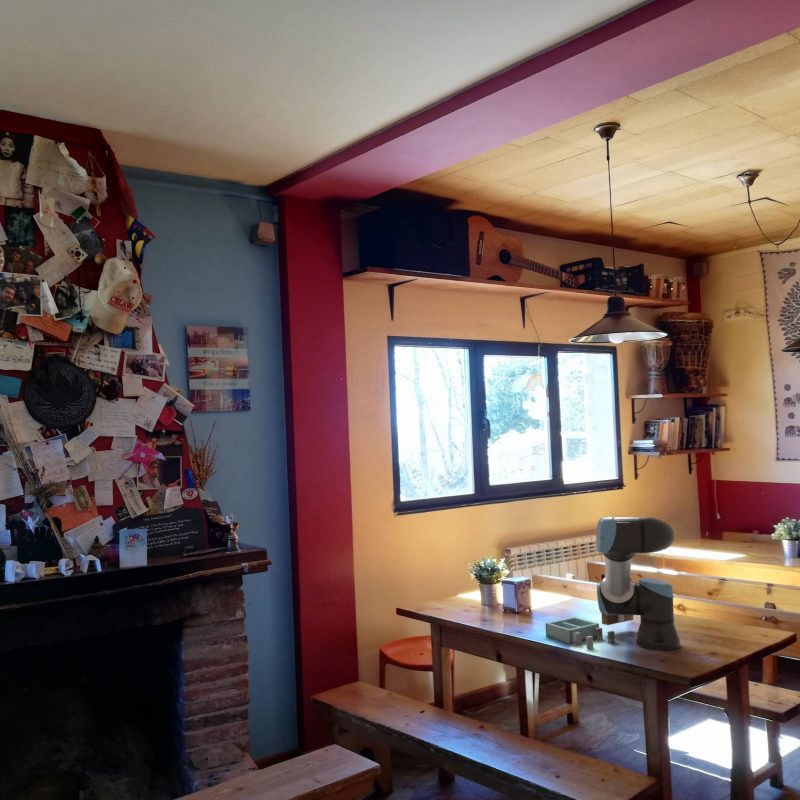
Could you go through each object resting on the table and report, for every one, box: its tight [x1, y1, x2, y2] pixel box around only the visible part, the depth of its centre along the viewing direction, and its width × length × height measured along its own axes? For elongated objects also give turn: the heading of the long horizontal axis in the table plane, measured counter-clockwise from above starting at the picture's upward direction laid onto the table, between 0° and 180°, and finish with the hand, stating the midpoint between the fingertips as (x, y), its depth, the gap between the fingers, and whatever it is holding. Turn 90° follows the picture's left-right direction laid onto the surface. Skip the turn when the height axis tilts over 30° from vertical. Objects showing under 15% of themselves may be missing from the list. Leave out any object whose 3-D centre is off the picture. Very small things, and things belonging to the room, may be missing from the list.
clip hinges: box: [571, 626, 616, 650], centre depth 291 cm, size 8×13×4 cm, turn 122°
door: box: [600, 612, 634, 626], centre depth 305 cm, size 4×14×9 cm, turn 122°
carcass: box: [545, 616, 600, 645], centre depth 300 cm, size 13×15×5 cm
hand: (617, 620), depth 305 cm, fingers closed on door, 3 cm apart
